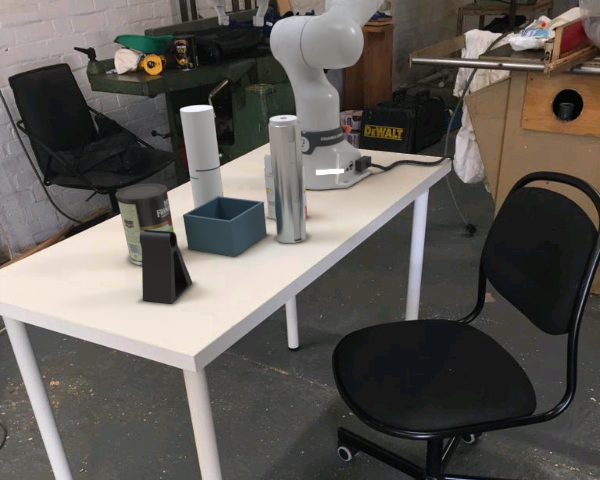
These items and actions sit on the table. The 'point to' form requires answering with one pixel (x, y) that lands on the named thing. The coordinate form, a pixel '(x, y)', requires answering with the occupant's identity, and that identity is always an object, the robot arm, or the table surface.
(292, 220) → the silver tall cylinder
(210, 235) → the case
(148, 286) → the phone stand
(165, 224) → the coffee can
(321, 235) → the table surface
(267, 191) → the ink cartridge box
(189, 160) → the cylindrical container
